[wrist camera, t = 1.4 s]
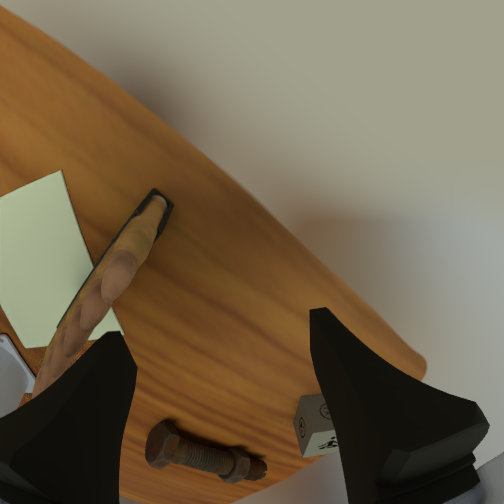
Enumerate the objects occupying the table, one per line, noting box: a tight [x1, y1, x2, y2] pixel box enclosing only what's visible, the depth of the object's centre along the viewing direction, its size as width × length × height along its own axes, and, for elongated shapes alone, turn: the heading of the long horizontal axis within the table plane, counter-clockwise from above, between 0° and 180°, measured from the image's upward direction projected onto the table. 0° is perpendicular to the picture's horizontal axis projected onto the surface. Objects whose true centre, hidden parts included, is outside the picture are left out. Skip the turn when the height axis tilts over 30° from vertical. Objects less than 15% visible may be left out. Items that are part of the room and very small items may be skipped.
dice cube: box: [293, 394, 339, 457], centre depth 28 cm, size 5×5×5 cm
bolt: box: [145, 421, 267, 484], centre depth 30 cm, size 6×5×15 cm
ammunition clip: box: [32, 188, 174, 399], centre depth 16 cm, size 11×2×12 cm, turn 136°
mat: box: [0, 170, 125, 348], centre depth 21 cm, size 12×14×1 cm
